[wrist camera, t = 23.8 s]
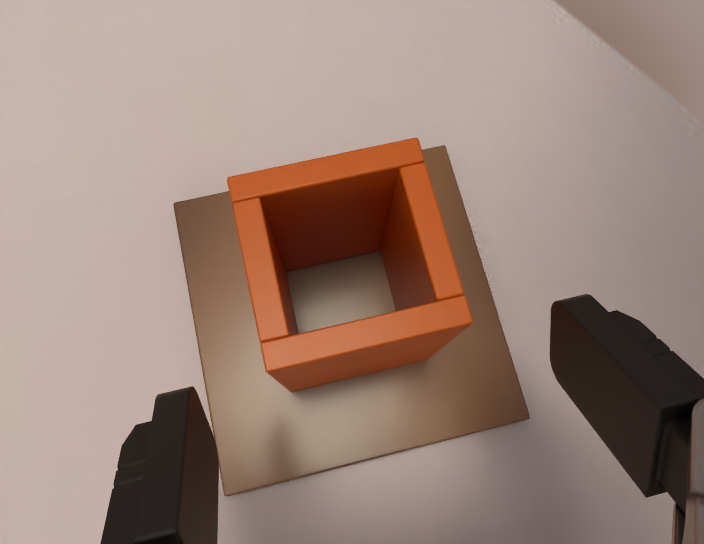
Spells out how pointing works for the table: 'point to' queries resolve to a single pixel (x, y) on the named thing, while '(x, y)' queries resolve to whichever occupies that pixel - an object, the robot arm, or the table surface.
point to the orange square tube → (341, 242)
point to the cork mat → (350, 394)
